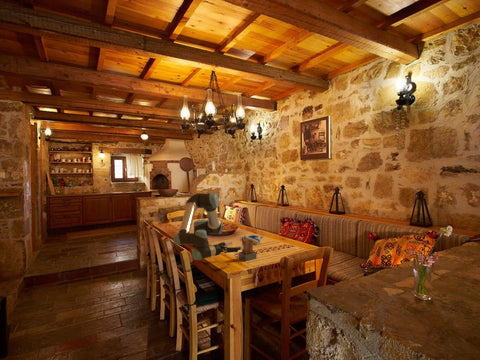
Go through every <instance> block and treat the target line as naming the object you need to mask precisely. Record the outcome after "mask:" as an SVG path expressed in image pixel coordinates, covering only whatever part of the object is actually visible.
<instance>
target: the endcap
mask: <svg viewBox="0 0 480 360" xmlns="http://www.w3.org/2000/svg"><path fill="white" fill-rule="evenodd" d="M257 257H258V256H257V251H254V250H253V253H250V254H243V253H242V251H238V259H239V260H240V261H244V262H248V261H252V260H255V259H258V258H257Z"/></svg>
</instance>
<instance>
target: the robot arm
mask: <svg viewBox="0 0 480 360" xmlns="http://www.w3.org/2000/svg"><path fill="white" fill-rule="evenodd" d="M185 202H186V203H185V205H184V209H185V210H184V213H183V216H182V221H181V224H180V225H179V231H178V232H175V233H174V235H173V243H174V245H191V246H192V247H194V249H192V252H191V256H192V257H191V258H192V259H193V260H194V261H199V260H205V259H208V258H212V257H215V256H219V255H221V253H223V254H227V253H239V251H242V249H243V245H242V244H241V245H237V246H235V247H234V246H233V241H231V240H230V241H226V242H225V241H223V242H219V243H218V244H212V245H209V244H210V243H209V239H208V235H220V234H222V233H223V221H222V220H220V219H219V217H218V212H217V211H218V210H217V209H218V208H219V206H220V200H219V196H218V194H217V193H214V192H210V193H205V192H203V193H198V192H197V193H195V194H192V195H191V196H190V197H188V199H187V201H185ZM198 209H203V210H204V211H205V212H206V214H207V215H206V216H207V219H204V218H203V219H197V220H195V221H194V218H195V214H196V213H195V212H196V211H197V210H198ZM193 221H194V222H193ZM192 226H193V232H191V229H192ZM230 246H231V247H230ZM232 246H233V247H232Z"/></svg>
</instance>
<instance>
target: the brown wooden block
mask: <svg viewBox="0 0 480 360" xmlns="http://www.w3.org/2000/svg"><path fill="white" fill-rule="evenodd" d="M241 245H243V249H242V250H241V252H242V253H243V254H250V253H253V251H254V244H253V239H250V238H248V239H246V238H245V239H243V238H242V240H241Z"/></svg>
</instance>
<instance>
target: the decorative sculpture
mask: <svg viewBox="0 0 480 360" xmlns="http://www.w3.org/2000/svg"><path fill="white" fill-rule="evenodd" d="M264 237H265V236H263V235H262V236H260V235H257V234H248V235H243V236H240V238H239V239H240V240H241V241H242V240H243V239H248V238H250V239H253V245H256V246H260V244H261V243H260V241H261V239H262V238H264Z"/></svg>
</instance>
